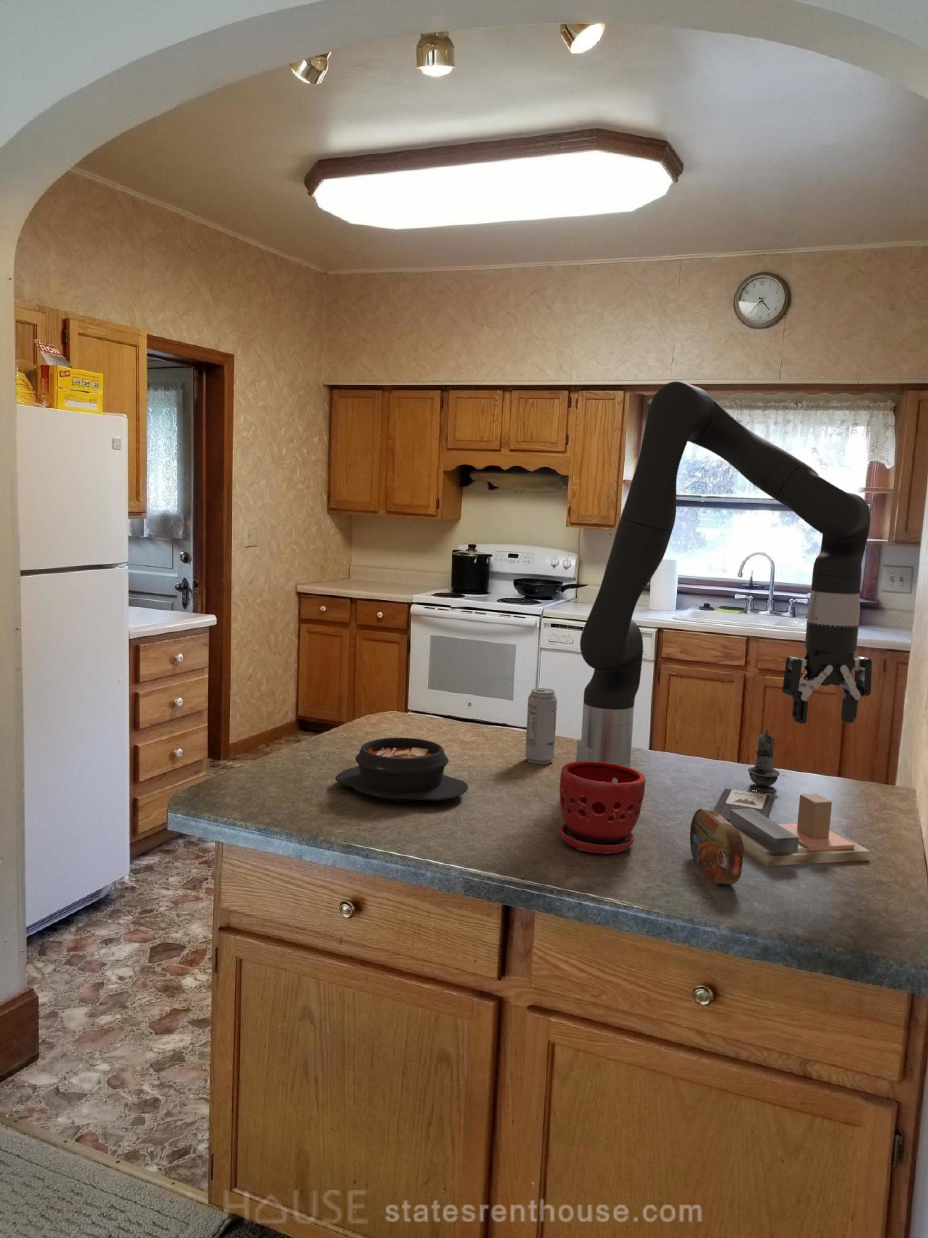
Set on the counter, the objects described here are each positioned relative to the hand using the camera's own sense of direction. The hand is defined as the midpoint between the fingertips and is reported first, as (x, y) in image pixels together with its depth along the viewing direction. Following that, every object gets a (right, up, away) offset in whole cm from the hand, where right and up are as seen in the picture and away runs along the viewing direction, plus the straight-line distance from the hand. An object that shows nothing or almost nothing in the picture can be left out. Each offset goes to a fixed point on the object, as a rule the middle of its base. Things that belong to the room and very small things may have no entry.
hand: (823, 722), depth 141 cm
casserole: (-69, -16, +21) cm, 74 cm away
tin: (-20, -21, -10) cm, 31 cm away
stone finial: (+1, -17, +32) cm, 36 cm away
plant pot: (-36, -19, 0) cm, 41 cm away
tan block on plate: (-1, -19, +1) cm, 19 cm away
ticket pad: (-4, -20, +1) cm, 21 cm away
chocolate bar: (-7, -19, +20) cm, 28 cm away
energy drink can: (-41, -14, +45) cm, 63 cm away
